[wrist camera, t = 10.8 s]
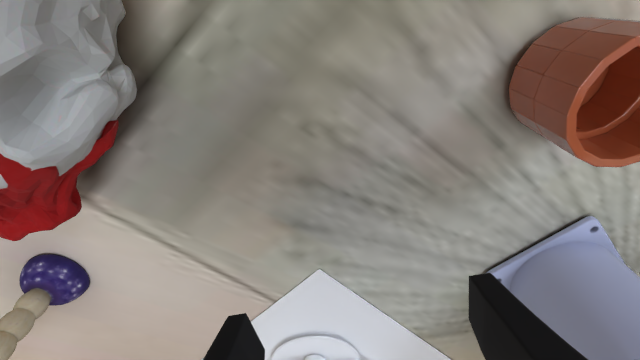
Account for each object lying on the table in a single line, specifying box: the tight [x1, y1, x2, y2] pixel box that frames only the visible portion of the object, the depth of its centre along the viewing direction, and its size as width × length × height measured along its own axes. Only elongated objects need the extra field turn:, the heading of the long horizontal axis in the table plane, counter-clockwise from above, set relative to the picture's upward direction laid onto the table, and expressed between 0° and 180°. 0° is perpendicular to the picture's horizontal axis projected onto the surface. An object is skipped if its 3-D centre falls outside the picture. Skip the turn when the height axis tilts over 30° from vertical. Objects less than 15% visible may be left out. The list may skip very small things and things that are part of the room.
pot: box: [509, 17, 640, 167], centre depth 15 cm, size 6×6×5 cm
